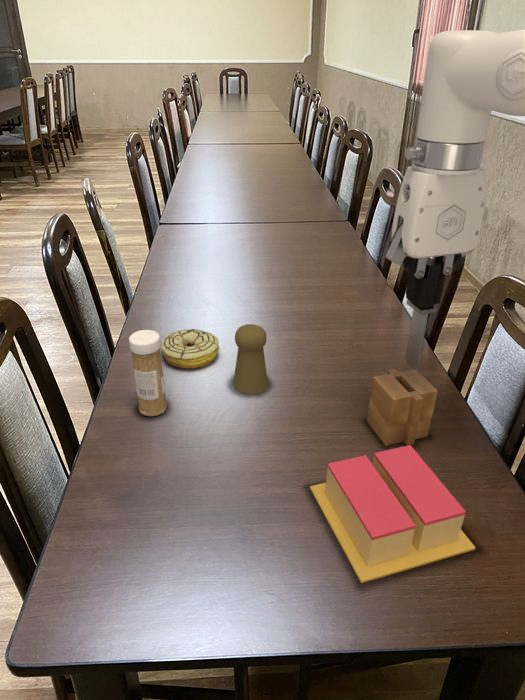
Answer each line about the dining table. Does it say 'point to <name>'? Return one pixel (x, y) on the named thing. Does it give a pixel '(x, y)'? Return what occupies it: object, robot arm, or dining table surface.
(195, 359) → the decorated donut
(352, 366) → the dining table surface
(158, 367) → the sprinkles bottle
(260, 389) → the olive brown pawn
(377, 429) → the knife block
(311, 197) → the dining table surface
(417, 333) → the knife
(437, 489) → the cake
